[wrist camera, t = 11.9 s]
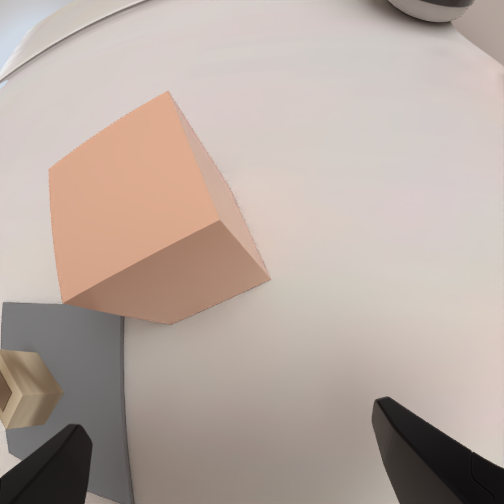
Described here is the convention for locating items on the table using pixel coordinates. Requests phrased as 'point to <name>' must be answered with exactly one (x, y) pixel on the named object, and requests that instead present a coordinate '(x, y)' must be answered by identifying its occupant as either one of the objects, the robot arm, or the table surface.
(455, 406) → the table surface
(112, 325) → the charcoal mat
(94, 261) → the salmon orange block
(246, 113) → the table surface
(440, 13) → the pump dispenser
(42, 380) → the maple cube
